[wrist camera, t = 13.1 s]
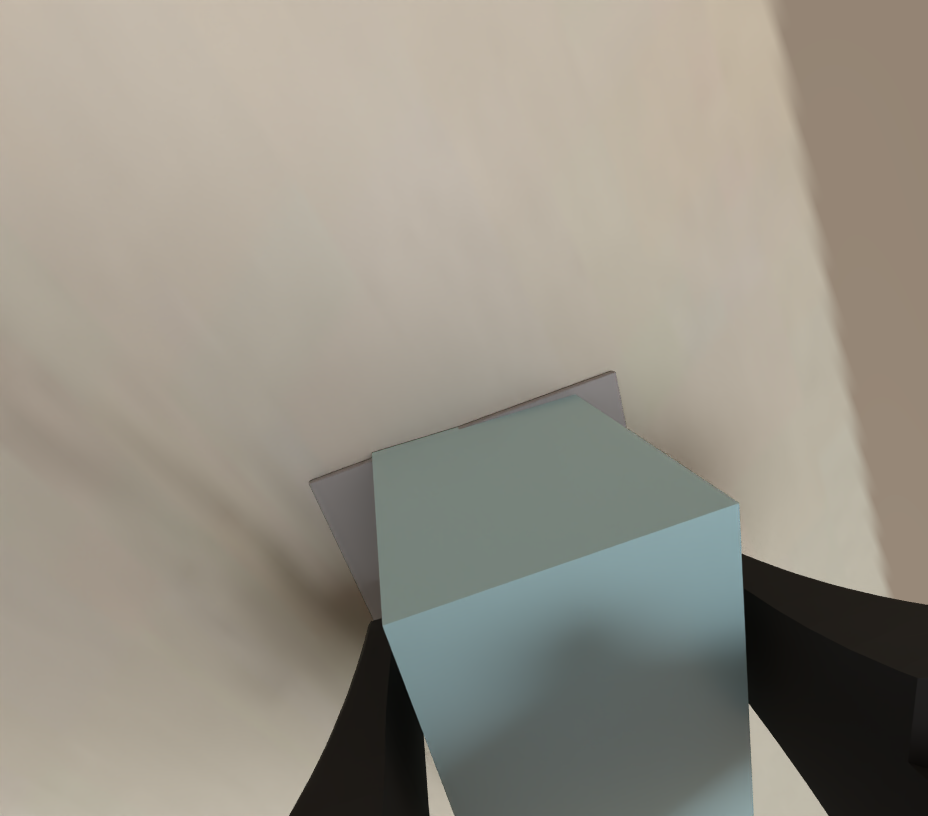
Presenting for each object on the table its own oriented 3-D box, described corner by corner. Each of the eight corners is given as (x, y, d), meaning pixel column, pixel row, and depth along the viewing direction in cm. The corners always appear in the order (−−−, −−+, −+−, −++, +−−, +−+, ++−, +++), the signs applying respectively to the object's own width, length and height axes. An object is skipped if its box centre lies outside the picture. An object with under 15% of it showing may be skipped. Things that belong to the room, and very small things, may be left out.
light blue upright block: (611, 623, 17) (754, 834, 11) (449, 682, 16) (502, 943, 10) (572, 392, 14) (739, 503, 8) (371, 453, 13) (382, 626, 7)
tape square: (659, 605, 17) (662, 609, 17) (416, 707, 16) (417, 712, 16) (612, 370, 14) (615, 372, 14) (309, 480, 13) (309, 484, 13)
